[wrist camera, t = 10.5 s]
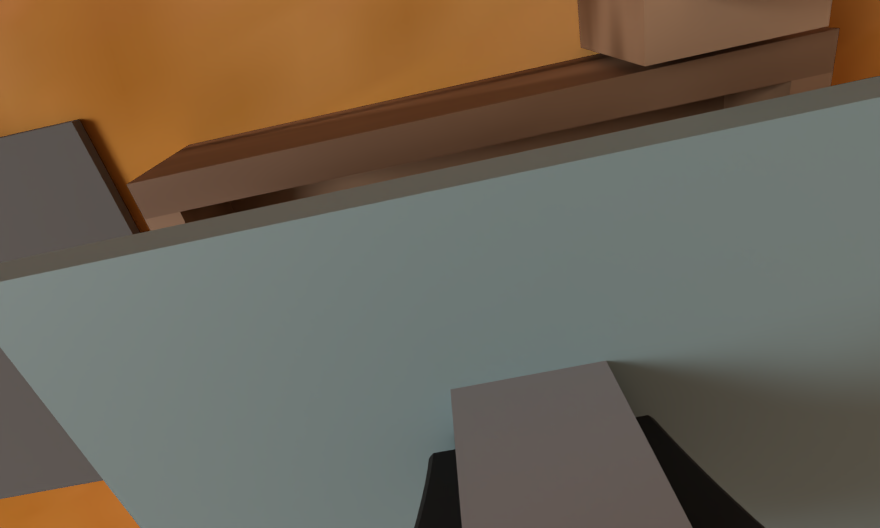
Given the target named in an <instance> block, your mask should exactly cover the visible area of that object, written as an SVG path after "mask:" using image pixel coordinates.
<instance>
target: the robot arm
mask: <svg viewBox="0 0 880 528" xmlns="http://www.w3.org/2000/svg"><path fill="white" fill-rule="evenodd" d="M636 419H637V421H638V423H639V425H640V427H641V429H642V431H643V433H644V435H645V437H646V439H647V441H648V443H649V445H650V446H651V448H652V450H653V452H654V454H655V456H656V458H657V460H658V462H659V464H660V466H661V468H662V470H663V472H664V473H665V475H666V477H667V479H668V481H669V483H670V485H671V487H672V489H673V491H674V493H675V495H676V497H677V499H678V501H679V502H680V504H681V506H682V508H683V510H684V512H685V514H686V516H687V518H688V520H689V522H690V524H691V526H692V528H765V527H764V526H763V525H762V524H761V523H759V522H758V521H757V520H756V519H755V518H754V517H753V516H752V515H750V514H749V513H748V512H747V511H746V510H745V509H744V508H743V507H742V506H741V505H740V504H739V503H738V502H736V501H735V500H734V499H733V498H732V497H731V496H730V495H729V494H728V493H727V492H726V491H725V490H723V489H722V488H721V487H720V486H719V485H718V484H717V483H716V482H715V481H714V480H713V479H712V478H711V477H710V476H709V475H708V474H707V473H706V472H705V471H704V470H703V469H702V468H701V467H700V466H699V465H698V464H697V463H696V462H695V461H694V460H693V459H692V458H691V457H690V456H689V455H688V454H687V453H686V452H685V451H684V450H683V449H682V448H681V447H680V446H679V445H678V444H677V443H676V442H675V441H674V440H673V439H672V438H671V437H670V435H669V434H668V433H667V432H666V431H665V430H664V429H663V428H662V427H661V426H660V425H659V424H658V422H657V421H656V420H655V419H654V418H652V417H651V416H649V415H645V416H639V417H636ZM414 528H462V522H461V510H460V498H459V486H458V474H457V463H456V451H455V449H454V450H448V451H442V452H437V453H433V454H432V455H431V456H430V458H429V462H428V469H427V475H426V480H425V485H424V490H423V494H422V499H421V503H420V507H419V511H418V515H417V519H416V523H415V526H414Z"/></svg>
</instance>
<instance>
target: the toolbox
mask: <svg viewBox="0 0 880 528" xmlns="http://www.w3.org/2000/svg"><path fill="white" fill-rule="evenodd" d="M831 6H832V0H578V13H579V28H580V42H581V48H584V49H588V50H591V51H594V52H598V53H600V54H596V55H591V56H587V57H582V58H578V59H573V60H569V61H564V62H560V63H555V64H551V65H546V66H542V67H537V68H533V69H528V70H524V71H519V72H515V73H510V74H506V75H501V76H497V77H492V78H488V79H483V80H479V81H474V82H470V83H465V84H461V85H456V86H452V87H447V88H443V89H438V90H434V91H429V92H425V93H420V94H416V95H411V96H407V97H402V98H398V99H393V100H389V101H384V102H380V103H375V104H371V105H366V106H362V107H357V108H353V109H348V110H344V111H339V112H335V113H330V114H326V115H321V116H317V117H312V118H308V119H303V120H299V121H294V122H290V123H285V124H281V125H276V126H272V127H268V128H263V129H259V130H254V131H250V132H245V133H241V134H236V135H232V136H227V137H223V138H218V139H214V140H209V141H205V142H200V143H196V144H191V145H188V146H186V147H185V148H183V149H182V150H180V151H178V152H177V153H175V154H174V155H172V156H171V157H169V158H167V159H166V160H164V161H163V162H161V163H160V164H158V165H156V166H155V167H153V168H152V169H150V170H149V171H147V172H145V173H144V174H142V175H141V176H139V177H137V178H136V179H134V180H133V181H131V182H130V183H128V184H126V185H127V187H128V188H129V190H130V192H131V194H132V196H133V198H134V200H135V202H136V204H137V206H138V208H139V209H140V211H141V213H142V215H143V217H144V219H145V221H146V223H147V225H148V227H149V229H150V231H152V230H157V229H161V228H166V227H171V226H175V225H180V224H185V223H189V222H194V221H199V220H204V219H208V218H213V217H218V216H222V215H227V214H232V213H237V212H241V211H246V210H251V209H255V208H260V207H265V206H270V205H274V204H279V203H284V202H288V201H293V200H298V199H302V198H307V197H312V196H317V195H321V194H326V193H331V192H335V191H340V190H345V189H350V188H354V187H359V186H364V185H368V184H373V183H378V182H383V181H387V180H392V179H397V178H401V177H406V176H411V175H415V174H420V173H425V172H430V171H434V170H439V169H444V168H448V167H453V166H458V165H463V164H467V163H472V162H477V161H481V160H486V159H491V158H495V157H500V156H505V155H510V154H514V153H519V152H524V151H528V150H533V149H538V148H543V147H547V146H552V145H557V144H561V143H566V142H571V141H576V140H580V139H585V138H590V137H594V136H599V135H604V134H608V133H613V132H618V131H623V130H627V129H632V128H637V127H641V126H646V125H651V124H656V123H660V122H665V121H670V120H674V119H679V118H684V117H689V116H693V115H698V114H703V113H707V112H712V111H717V110H721V109H726V108H731V107H736V106H740V105H745V104H750V103H754V102H759V101H764V100H769V99H773V98H778V97H783V96H787V95H792V94H797V93H802V92H806V91H811V90H816V89H820V88H825V87H830V86H831V81H832V75H833V68H834V61H835V55H836V48H837V42H838V35H839V29H840V28H829V27H827V26H829V20H830V13H831Z"/></svg>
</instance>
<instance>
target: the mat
mask: <svg viewBox="0 0 880 528" xmlns="http://www.w3.org/2000/svg"><path fill="white" fill-rule="evenodd" d="M138 233H140V232H139V230H138V228H137V226H136V224H135V222H134V221H133V219H132V217H131V215H130V213H129V211H128V209H127V208H126V206H125V204H124V202H123V200H122V198H121V196H120V194H119V193H118V191H117V189H116V187H115V185H114V183H113V181H112V179H111V178H110V176H109V174H108V172H107V170H106V168H105V166H104V165H103V163H102V161H101V159H100V157H99V155H98V153H97V151H96V150H95V148H94V146H93V144H92V142H91V140H90V138H89V136H88V135H87V133H86V131H85V129H84V127H83V125H82V123H81V122H80V120H79V119H78V120H73V121H69V122H65V123H60V124H56V125H52V126H47V127H43V128H38V129H34V130H30V131H25V132H21V133H17V134H12V135H8V136H4V137H0V263H1V262H6V261H11V260H15V259H20V258H25V257H29V256H34V255H39V254H44V253H48V252H53V251H58V250H62V249H67V248H72V247H76V246H81V245H86V244H91V243H95V242H100V241H105V240H109V239H114V238H119V237H124V236H128V235H133V234H138ZM101 480H103V479H102V478H101V476H100V475H99V474H98V472H97V471H96V470H95V469H94V467H93V466H92V465H91V463H90V462H89V461H88V460H87V458H86V457H85V456H84V454H83V453H82V452H81V450H80V449H79V448H78V447H77V445H76V444H75V443H74V441H73V440H72V439H71V438H70V436H69V435H68V434H67V432H66V431H65V430H64V429H63V427H62V426H61V425H60V423H59V422H58V421H57V420H56V418H55V417H54V416H53V414H52V413H51V412H50V411H49V409H48V408H47V407H46V405H45V404H44V403H43V402H42V400H41V399H40V398H39V396H38V395H37V394H36V393H35V391H34V390H33V389H32V387H31V386H30V385H29V384H28V382H27V381H26V380H25V378H24V377H23V376H22V375H21V373H20V372H19V371H18V369H17V368H16V367H15V366H14V364H13V363H12V362H11V360H10V359H9V358H8V357H7V355H6V354H5V353H4V351H3V350H2V349H1V348H0V499H2V498H8V497H13V496H19V495H24V494H30V493H35V492H41V491H46V490H52V489H57V488H63V487H68V486H74V485H79V484H85V483H90V482H96V481H101Z"/></svg>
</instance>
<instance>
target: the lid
mask: <svg viewBox="0 0 880 528" xmlns="http://www.w3.org/2000/svg"><path fill="white" fill-rule="evenodd" d="M0 348H1V349H2V350H3V351H4V353H5V354H6V355H7V357H8V358H9V359H10V360H11V362H12V363H13V364H14V366H15V367H16V368H17V369H18V371H19V372H20V373H21V375H22V376H23V377H24V378H25V380H26V381H27V382H28V384H29V385H30V386H31V387H32V389H33V390H34V391H35V393H36V394H37V395H38V396H39V398H40V399H41V400H42V402H43V403H44V404H45V405H46V407H47V408H48V409H49V411H50V412H51V413H52V414H53V416H54V417H55V418H56V420H57V421H58V422H59V423H60V425H61V426H62V427H63V429H64V430H65V431H66V432H67V434H68V435H69V436H70V438H71V439H72V440H73V441H74V443H75V444H76V445H77V447H78V448H79V449H80V450H81V452H82V453H83V454H84V456H85V457H86V458H87V460H88V461H89V462H90V463H91V465H92V466H93V467H94V469H95V470H96V471H97V472H98V474H99V475H100V476H101V478H102V479H103V480H104V481H105V483H106V484H107V485H108V487H109V488H110V489H111V490H112V492H113V493H114V494H115V496H116V497H117V498H118V499H119V501H120V502H121V503H122V505H123V506H124V507H125V508H126V510H127V511H128V512H129V514H130V515H131V516H132V517H133V519H134V520H135V521H136V523H137V524H138V525H139V526H140V528H414V526H415V523H416V519H417V515H418V511H419V507H420V503H421V499H422V494H423V490H424V485H425V480H426V475H427V469H428V462H429V458H430V456H431V455H432V454H433V453H437V452H442V451H448V450H454V449H455V451H456V463H457V474H458V486H459V498H460V510H461V522H462V528H692V526H691V524H690V522H689V520H688V518H687V516H686V514H685V512H684V510H683V508H682V506H681V504H680V502H679V501H678V499H677V497H676V495H675V493H674V491H673V489H672V487H671V485H670V483H669V481H668V479H667V477H666V475H665V473H664V472H663V470H662V468H661V466H660V464H659V462H658V460H657V458H656V456H655V454H654V452H653V450H652V448H651V446H650V445H649V443H648V441H647V439H646V437H645V435H644V433H643V431H642V429H641V427H640V425H639V423H638V421H637V419H636V417H639V416H645V415H649V416H651V417H652V418H654V419H655V420H656V421H657V422H658V424H659V425H660V426H661V427H662V428H663V429H664V430H665V431H666V432H667V433H668V434H669V435H670V437H671V438H672V439H673V440H674V441H675V442H676V443H677V444H678V445H679V446H680V447H681V448H682V449H683V450H684V451H685V452H686V453H687V454H688V455H689V456H690V457H691V458H692V459H693V460H694V461H695V462H696V463H697V464H698V465H699V466H700V467H701V468H702V469H703V470H704V471H705V472H706V473H707V474H708V475H709V476H710V477H711V478H712V479H713V480H714V481H715V482H716V483H717V484H718V485H719V486H720V487H721V488H722V489H723V490H725V491H726V492H727V493H728V494H729V495H730V496H731V497H732V498H733V499H734V500H735V501H736V502H738V503H739V504H740V505H741V506H742V507H743V508H744V509H745V510H746V511H747V512H748V513H749V514H750V515H752V516H753V517H754V518H755V519H756V520H757V521H758V522H759V523H761V524H762V525H763V526H764V527H765V528H880V76H877V77H872V78H867V79H863V80H858V81H853V82H849V83H844V84H839V85H834V86H830V87H825V88H820V89H816V90H811V91H806V92H802V93H797V94H792V95H787V96H783V97H778V98H773V99H769V100H764V101H759V102H754V103H750V104H745V105H740V106H736V107H731V108H726V109H721V110H717V111H712V112H707V113H703V114H698V115H693V116H689V117H684V118H679V119H674V120H670V121H665V122H660V123H656V124H651V125H646V126H641V127H637V128H632V129H627V130H623V131H618V132H613V133H608V134H604V135H599V136H594V137H590V138H585V139H580V140H576V141H571V142H566V143H561V144H557V145H552V146H547V147H543V148H538V149H533V150H528V151H524V152H519V153H514V154H510V155H505V156H500V157H495V158H491V159H486V160H481V161H477V162H472V163H467V164H463V165H458V166H453V167H448V168H444V169H439V170H434V171H430V172H425V173H420V174H415V175H411V176H406V177H401V178H397V179H392V180H387V181H383V182H378V183H373V184H368V185H364V186H359V187H354V188H350V189H345V190H340V191H335V192H331V193H326V194H321V195H317V196H312V197H307V198H302V199H298V200H293V201H288V202H284V203H279V204H274V205H270V206H265V207H260V208H255V209H251V210H246V211H241V212H237V213H232V214H227V215H222V216H218V217H213V218H208V219H204V220H199V221H194V222H189V223H185V224H180V225H175V226H171V227H166V228H161V229H157V230H152V231H147V232H142V233H138V234H133V235H128V236H124V237H119V238H114V239H109V240H105V241H100V242H95V243H91V244H86V245H81V246H76V247H72V248H67V249H62V250H58V251H53V252H48V253H44V254H39V255H34V256H29V257H25V258H20V259H15V260H11V261H6V262H1V263H0Z"/></svg>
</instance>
